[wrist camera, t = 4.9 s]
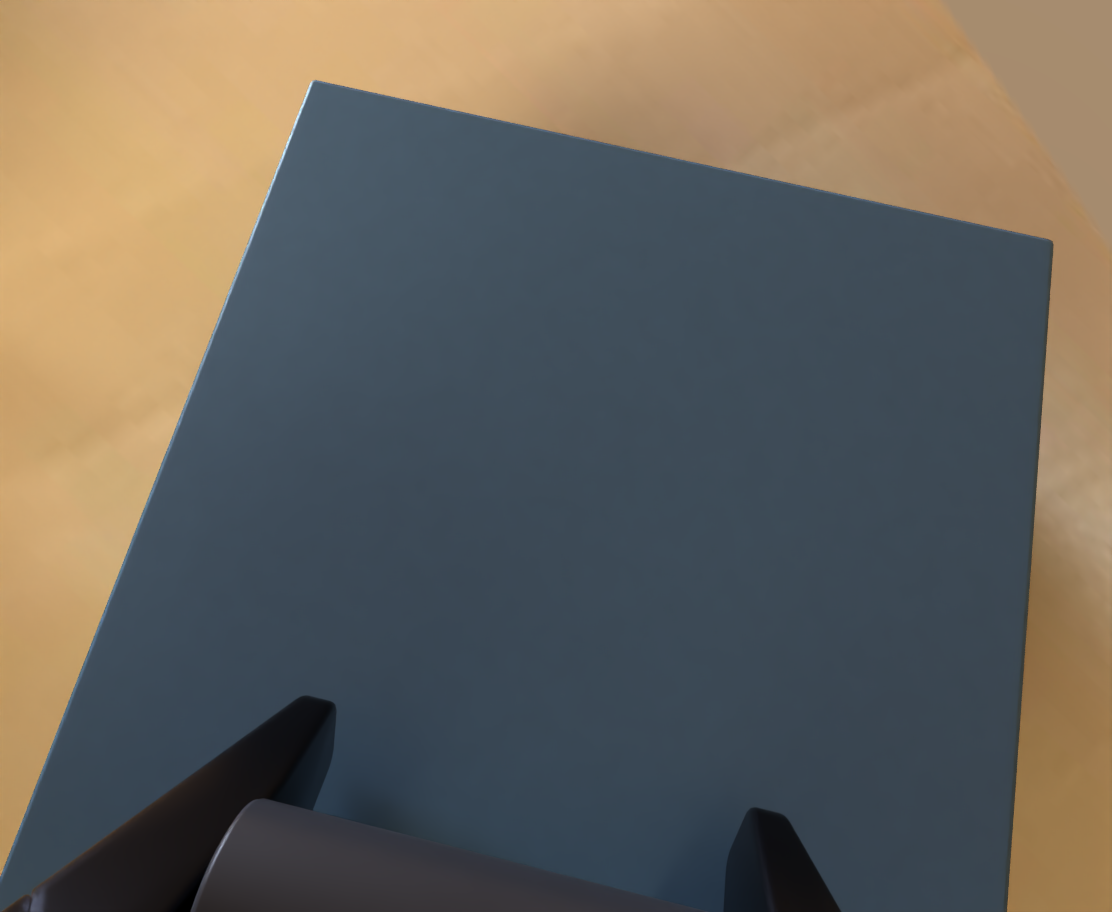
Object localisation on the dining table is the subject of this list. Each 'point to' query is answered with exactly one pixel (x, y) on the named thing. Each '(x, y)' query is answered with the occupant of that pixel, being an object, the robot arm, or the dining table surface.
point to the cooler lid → (580, 535)
